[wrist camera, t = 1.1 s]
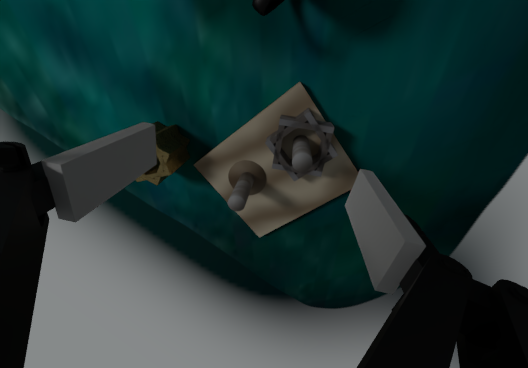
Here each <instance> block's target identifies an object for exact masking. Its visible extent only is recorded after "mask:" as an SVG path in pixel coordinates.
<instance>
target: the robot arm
mask: <svg viewBox="0 0 528 368" xmlns="http://www.w3.org/2000/svg"><path fill="white" fill-rule="evenodd" d="M156 164H157V155H156V133H155V125H154V124H150V123H145V122H142V123H140V124H137V125H134V126H132V127H129V128H126V129H124V130H121V131H118V132H116V133H113V134H110V135H108V136H105V137H102V138H100V139H97V140H95V141H92V142H89V143H87V144H84V145H81V146H79V147H76V148H73V149H71V150H68V151H65V152H63V153H60V154H57V155H55V156H52V157H49V158H47V159H44V160H41V161H40V162H37V163H35V164H32V165H31V162H30V159H29V156H28V153H27V150H26V147H25V145H24V144H22V143H17V142H0V368H24V363H25V357H26V350H27V344H28V339H29V334H30V328H31V322H32V316H33V310H34V304H35V298H36V293H37V287H38V282H39V276H40V270H41V264H42V258H43V252H44V247H45V241H46V235H47V229H48V224H49V217H48V214H47V212H48V211H49V210H51V209H53V208H54V207H55V208H56V211H57V214H58V218H59V219H63V220H68V221H72V222H77V221H78V220H79V219H81V218H82V217H84V216H85V215H86V214H88V213H89V212H91V211H92V210H94V209H95V208H96V207H98V206H99V205H101V204H102V203H103V202H105V201H106V200H107V199H109V198H110V197H112V196H113V195H114V194H116V193H117V192H119V191H120V190H121V189H123V188H124V187H126V186H127V185H128V184H130V183H131V182H133V181H134V180H135V179H137V178H138V177H140V176H141V175H142V174H144V173H145V172H147V171H148V170H149V169H151V168H152V167H154V166H155V165H156ZM345 207H346V210H347V213H348V216H349V218H350V221H351V224H352V227H353V230H354V233H355V235H356V238H357V241H358V244H359V247H360V250H361V252H362V255H363V258H364V261H365V264H366V267H367V269H368V272H369V275H370V278H371V281H372V284H373V287H374V289H375V290H376V291H380V292H385V293H389V294H393V293H394V292H395V291H396V289H397V288H398V286H399V285H400V286H401V288H402V290H403V292H404V294H403V295H402V296H401V298H400V299H399V301H398V302H397V303H396V305H395V306H394V308H393V309H392V312H391V314H390V315H389V317H388V319H387V320H386V322H385V323H384V325H383V327H382V328H381V330H380V331H379V333H378V335H377V336H376V338H375V339H374V341H373V342H372V344H371V346H370V347H369V349H368V350H367V352H366V354H365V355H364V357H363V358H362V360H361V362H360V363H359V365H358V366H357V368H449V367H450V363H451V360H452V356H453V352H454V348H455V344H456V341H457V349H458V357H459V364H460V368H528V289H527V288H525V287H523V286H520V285H518V284H517V283H514V282H511V281H509V280H503V279H502V280H499V281H497V282H496V284H494V285H493V286H492V287H490V286H488V285H485V284H483V283H481V282H478V281H476V280H473V279H472V275H471V273H470V272H469V270H468V269H466V268H465V267H464V266H463V265H462V264H461V263H459V262H458V261H456V260H455V259H453V258H451V257H449V256H446V255H443V254H440V253H439V252H438V251H437V249H436V248H435V247H434V245H433V244H432V243H431V241H430V240H429V239H428V237H426V235H425V234H424V232H423V231H421V228H420V227H419V226H418V224H417V223H416V222H415V221H414V220H412V219H411V218H410V217H409V216H407V215H404V214H403V213H402V212H401V210H400V209H399V207H398V206H397V205H396V203H395V202H394V200H393V199H392V198H391V196H390V195H389V194H388V192H387V191H386V189H385V188H384V187H383V185H382V184H381V182H380V181H379V180H378V178H377V177H376V176H375V174H374V173H373V171H368V170H364V169H360V171H359V173H358V175H357V178H356V180H355V183H354V185H353V187H352V190H351V192H350V194H349V197H348V199H347V202H346V204H345Z"/></svg>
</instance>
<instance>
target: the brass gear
mask: <svg viewBox="0 0 528 368" xmlns="http://www.w3.org/2000/svg"><path fill="white" fill-rule="evenodd" d="M152 124H154V125H155V133H156V155H157V164H156V165H155V166H154V167H152V168H151V169H149V170H148V171H147V172H145V173H144V174H142V175H141V176H140V177H138V178H137V179H136V181H137V182H139V181H144V180H148V181H150V182H152V183H154V184H155V185H158V184H160V183H161V182H162V181H163V180H164V179H165V178H167V177H168V176H169V175H171V174H172V173H173V172H175V171H176V170H177V169H178V168H179V167H180V166H181V165H182V164H184V163H185V162H186V161H187V160H188V159H189V158H190V156H189V153H188V151H187V149H186V148H187V146H188V143H189V141H190V140H189V139H187V138H186V137H184V136H182V135H181V134H180V132H179V130H178V127H177V125H172V126H168V127H167V126H165V125H163V124H161V123H160V122H158V121H157V122H155V123H152Z"/></svg>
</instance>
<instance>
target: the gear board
mask: <svg viewBox="0 0 528 368" xmlns="http://www.w3.org/2000/svg"><path fill="white" fill-rule="evenodd" d="M334 128H335V127H334V126H333V124H332V123H331V122H326V121H325V120H324V118H323V117H322V115H321V113H320V112H319V110H318V109H317V107H316V106H315V104H314V102H313V101H312V99H311V98H310V96H309V95H308V93H307V91H306V90H305V88H304V87H303V85H302V84H301V82H299V83H297V84H296V85H295V86H294V87H292V88H291V89H290V90H288V91H287V92H286V93H285V94H283V95H282V96H281V97H279V98H278V99H277V100H276V101H274V102H273V103H272V104H270V105H269V106H268V107H267V108H265V109H264V110H263V111H261V112H260V113H259V114H258V115H256V116H255V117H254V118H252V119H251V120H250V121H249V122H247V123H246V124H245V125H243V126H242V127H241V128H240V129H238V130H237V131H236V132H234V133H233V134H232V135H231V136H229V137H228V138H227V139H225V140H224V141H223V142H222V143H220V144H219V145H218V146H216V147H215V148H214V149H213V150H211V151H210V152H209V153H207V154H206V155H205V156H204V157H202V158H201V159H200V160H199V161H197V162H196V163H195V164H194V166H195V167H196V168H197V169H198V171H199V172H200V173H201V174H202V175H203V176H204V177H205V178H206V179H207V180H208V182H209V183H210V184H211V185H212V186H213V187H214V188H215V189H216V190H217V191H218V193H219V194H220V195H221V196H222V197H223V198H224V199H225V200H226V201H227V202H228V206H229V207H230V209H232V210H234V211H236V212H237V213H238V215H239V216H240V217H241V218H242V219H243V220H244V221H245V222H246V223H247V224H248V226H249V227H250V228H251V229H252V230H253V231H254V232H255V233H256V234H257V235H258V237H259V238H260V237H262V236H263V235H265V234H267V233H269V232H271V231H273V230H275V229H277V228H279V227H281V226H282V225H284V224H286V223H288V222H290V221H292V220H294V219H296V218H298V217H299V216H301V215H303V214H305V213H307V212H309V211H311V210H313V209H315V208H317V207H318V206H320V205H322V204H324V203H326V202H328V201H330V200H332V199H334V198H336V197H337V196H339V195H341V194H343V193H345V192H347V191H349V190H351V189H352V187H353V185H354V183H355V180H356V178H357V175H358V171H357V170H356V168H355V167H354V165H353V164H352V162H351V160H350V159H349V157H348V156H347V154H346V153H345V151H344V149H343V148H342V146H341V145H340V143H339V142H338V140H337V138H336V137H335V135H334V134H333V131H334Z"/></svg>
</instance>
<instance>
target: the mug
mask: <svg viewBox="0 0 528 368" xmlns="http://www.w3.org/2000/svg"><path fill="white" fill-rule="evenodd" d="M283 1H284V0H253V3H252V6H253V7H254V9H255V10H256V11H257V12H258V13H259V14H260V15H262V16H265V15H267V14H268V13H270V12H271V11H272V10H274V9H275V8H276V7H277V6H278V5H280V4H281V3H282V2H283Z"/></svg>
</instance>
